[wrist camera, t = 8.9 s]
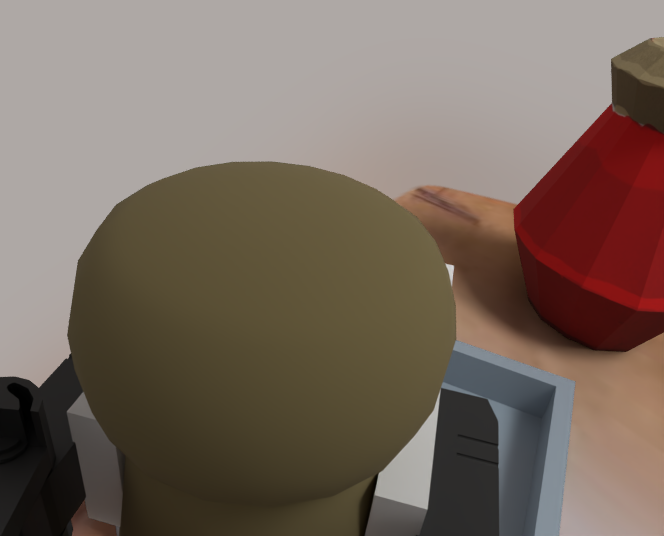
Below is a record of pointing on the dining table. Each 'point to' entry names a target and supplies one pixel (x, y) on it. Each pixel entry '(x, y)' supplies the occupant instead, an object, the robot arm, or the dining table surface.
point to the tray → (520, 434)
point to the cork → (259, 347)
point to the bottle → (604, 218)
